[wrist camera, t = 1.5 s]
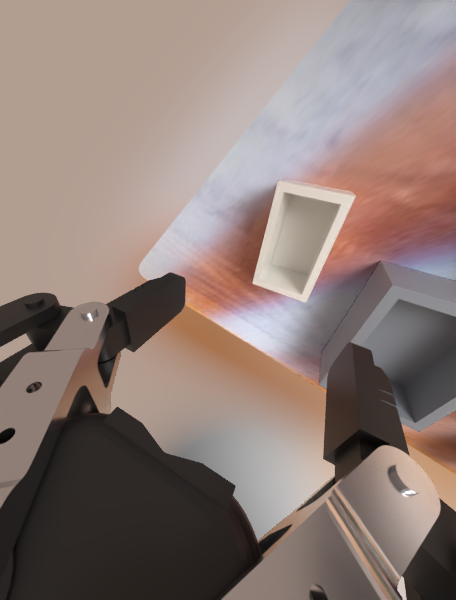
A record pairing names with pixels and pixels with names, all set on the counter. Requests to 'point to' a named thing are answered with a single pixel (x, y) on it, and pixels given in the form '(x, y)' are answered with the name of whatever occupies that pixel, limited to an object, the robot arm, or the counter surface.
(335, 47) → the counter surface
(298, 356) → the counter surface
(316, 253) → the white crate
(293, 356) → the counter surface
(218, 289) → the counter surface
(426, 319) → the slate crate
